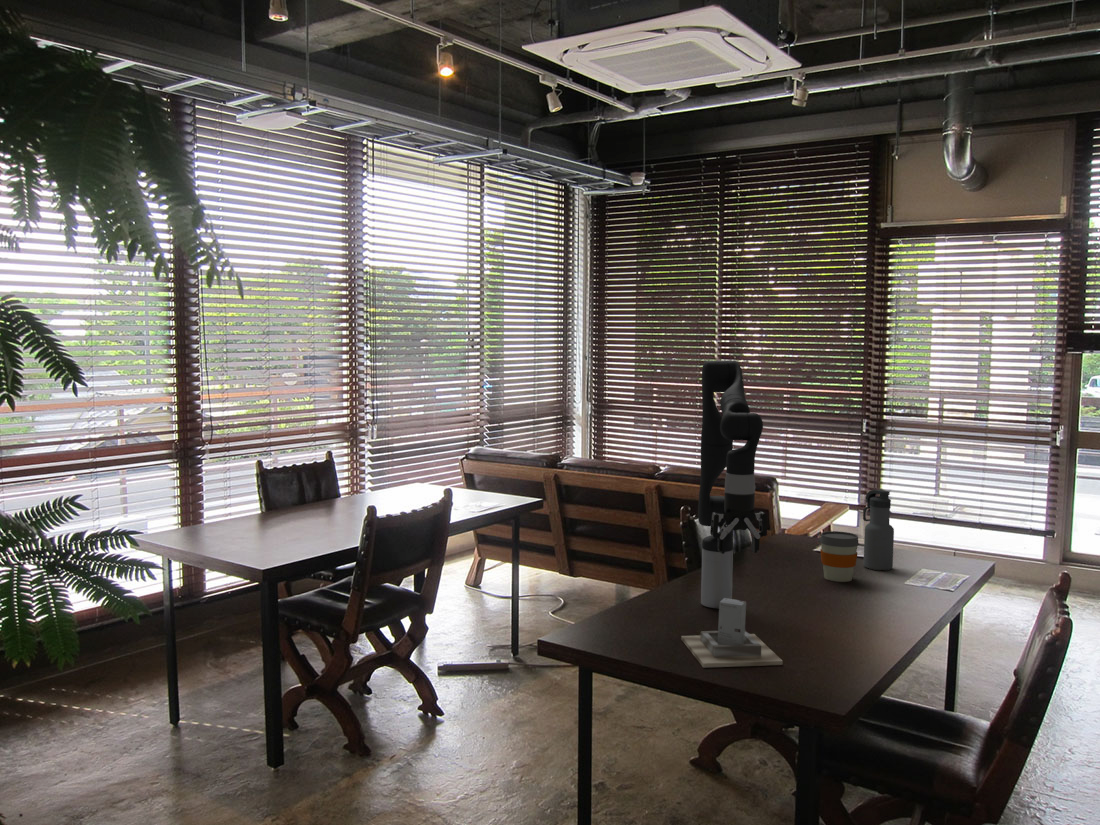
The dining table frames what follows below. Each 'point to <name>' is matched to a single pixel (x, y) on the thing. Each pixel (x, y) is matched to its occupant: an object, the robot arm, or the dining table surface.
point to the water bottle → (878, 532)
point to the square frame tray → (730, 651)
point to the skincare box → (731, 622)
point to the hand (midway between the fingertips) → (738, 552)
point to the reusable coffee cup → (838, 555)
